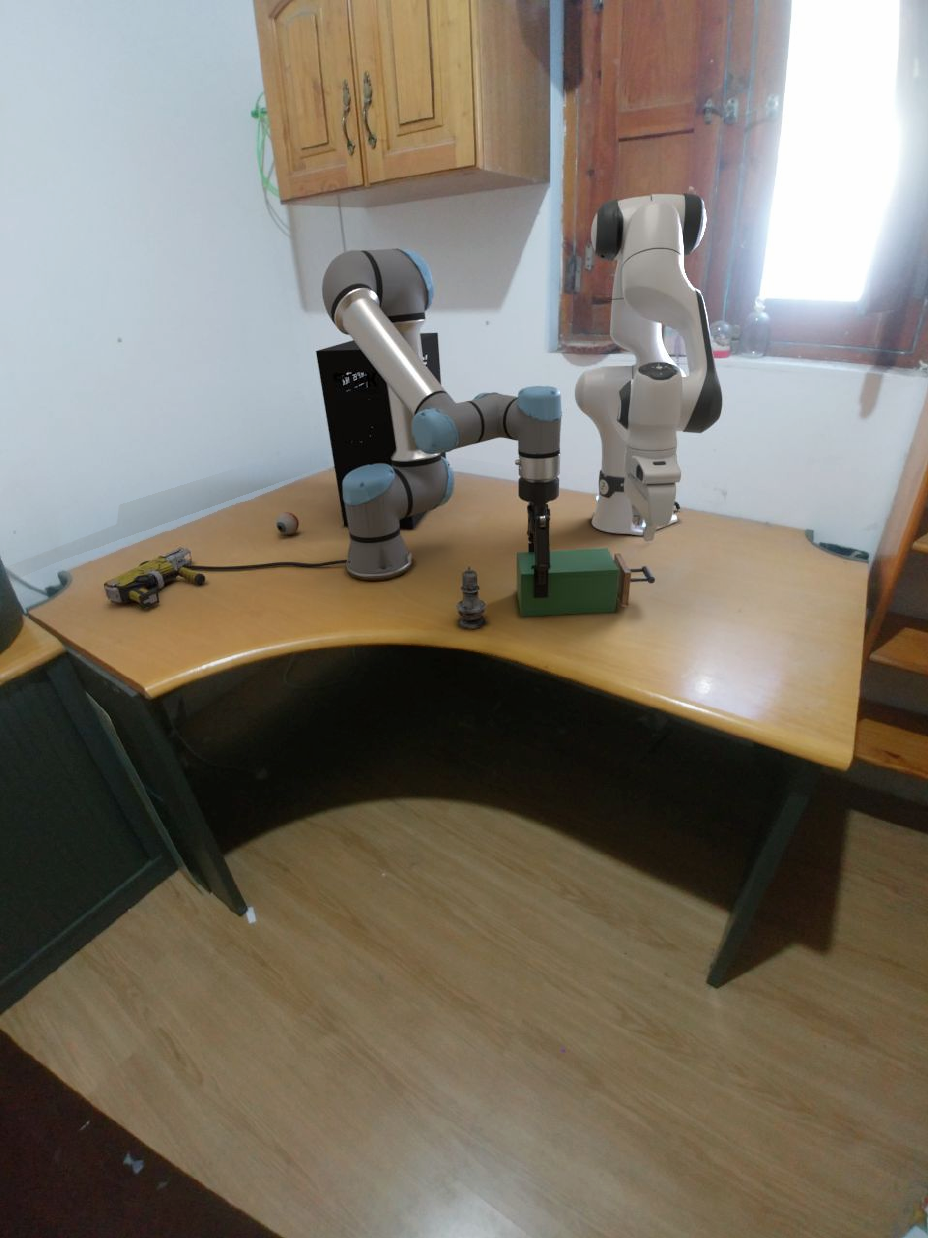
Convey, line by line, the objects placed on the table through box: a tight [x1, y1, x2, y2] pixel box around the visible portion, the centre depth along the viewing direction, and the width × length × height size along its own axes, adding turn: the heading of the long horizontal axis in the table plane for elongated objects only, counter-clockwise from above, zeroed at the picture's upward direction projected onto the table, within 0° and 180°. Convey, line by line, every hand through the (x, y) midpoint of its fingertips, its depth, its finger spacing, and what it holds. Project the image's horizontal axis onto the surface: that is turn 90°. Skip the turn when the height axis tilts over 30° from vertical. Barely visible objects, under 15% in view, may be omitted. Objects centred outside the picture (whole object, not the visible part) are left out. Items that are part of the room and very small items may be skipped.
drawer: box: [613, 552, 656, 607], centre depth 122 cm, size 23×9×7 cm, turn 90°
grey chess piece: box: [455, 565, 487, 629], centre depth 116 cm, size 6×6×12 cm
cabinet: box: [516, 547, 619, 617], centre depth 122 cm, size 19×10×9 cm, turn 90°
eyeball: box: [275, 511, 300, 536], centre depth 163 cm, size 6×6×6 cm
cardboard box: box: [315, 332, 447, 530], centre depth 170 cm, size 38×20×45 cm, turn 167°
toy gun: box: [103, 546, 206, 610], centre depth 139 cm, size 5×24×15 cm
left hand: (537, 584), depth 122 cm, fingers closed on cabinet, 10 cm apart
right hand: (642, 531), depth 116 cm, fingers open, 6 cm apart
